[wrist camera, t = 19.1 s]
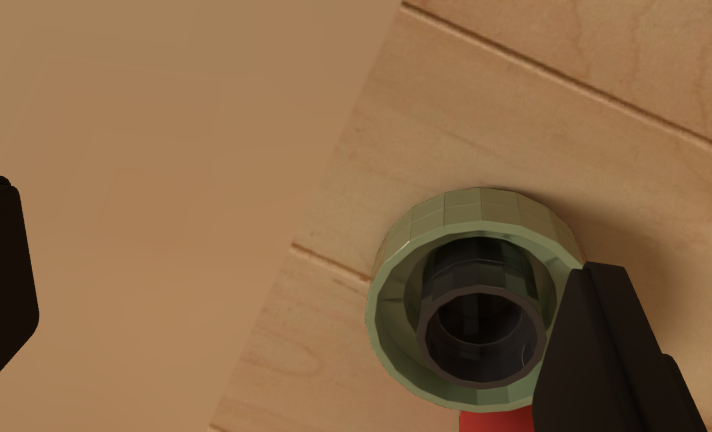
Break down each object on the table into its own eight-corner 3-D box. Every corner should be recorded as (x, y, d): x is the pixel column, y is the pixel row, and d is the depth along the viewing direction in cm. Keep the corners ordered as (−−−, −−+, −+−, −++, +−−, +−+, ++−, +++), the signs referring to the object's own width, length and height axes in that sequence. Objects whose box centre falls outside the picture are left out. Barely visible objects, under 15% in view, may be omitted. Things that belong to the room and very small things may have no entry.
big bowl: (365, 343, 46) (355, 392, 42) (387, 169, 40) (379, 204, 35) (557, 375, 45) (568, 428, 41) (610, 201, 39) (629, 242, 35)
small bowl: (414, 318, 44) (409, 378, 38) (430, 225, 41) (426, 276, 35) (521, 335, 43) (530, 398, 38) (545, 242, 40) (559, 297, 35)
